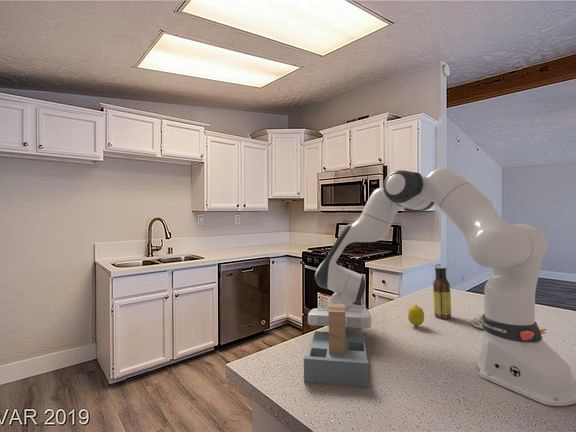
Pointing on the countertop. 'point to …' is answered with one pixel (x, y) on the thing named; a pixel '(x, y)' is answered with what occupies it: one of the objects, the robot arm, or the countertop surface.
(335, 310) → the block
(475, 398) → the countertop surface
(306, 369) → the deck
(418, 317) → the lemon
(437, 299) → the sauce bottle
